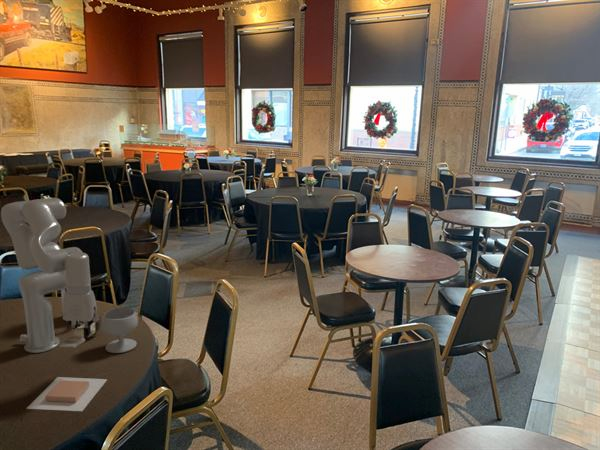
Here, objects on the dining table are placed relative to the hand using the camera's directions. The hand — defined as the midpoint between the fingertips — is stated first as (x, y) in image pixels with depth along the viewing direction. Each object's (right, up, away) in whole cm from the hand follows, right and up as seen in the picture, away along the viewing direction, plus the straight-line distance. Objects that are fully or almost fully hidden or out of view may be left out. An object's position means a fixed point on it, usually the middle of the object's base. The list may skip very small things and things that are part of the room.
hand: (82, 336), depth 158 cm
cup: (-12, -9, +34) cm, 38 cm away
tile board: (-1, -19, -8) cm, 20 cm away
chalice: (+3, -11, +26) cm, 29 cm away
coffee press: (-26, -5, +50) cm, 57 cm away
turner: (0, -1, -2) cm, 2 cm away
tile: (0, -15, -5) cm, 16 cm away
